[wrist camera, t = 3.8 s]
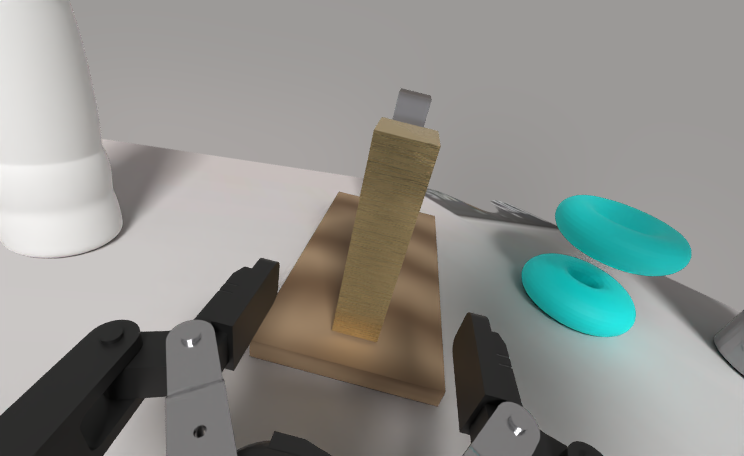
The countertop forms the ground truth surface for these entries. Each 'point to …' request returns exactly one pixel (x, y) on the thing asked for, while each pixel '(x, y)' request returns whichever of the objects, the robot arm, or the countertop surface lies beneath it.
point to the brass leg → (384, 224)
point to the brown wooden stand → (321, 293)
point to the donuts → (609, 246)
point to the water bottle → (50, 137)
